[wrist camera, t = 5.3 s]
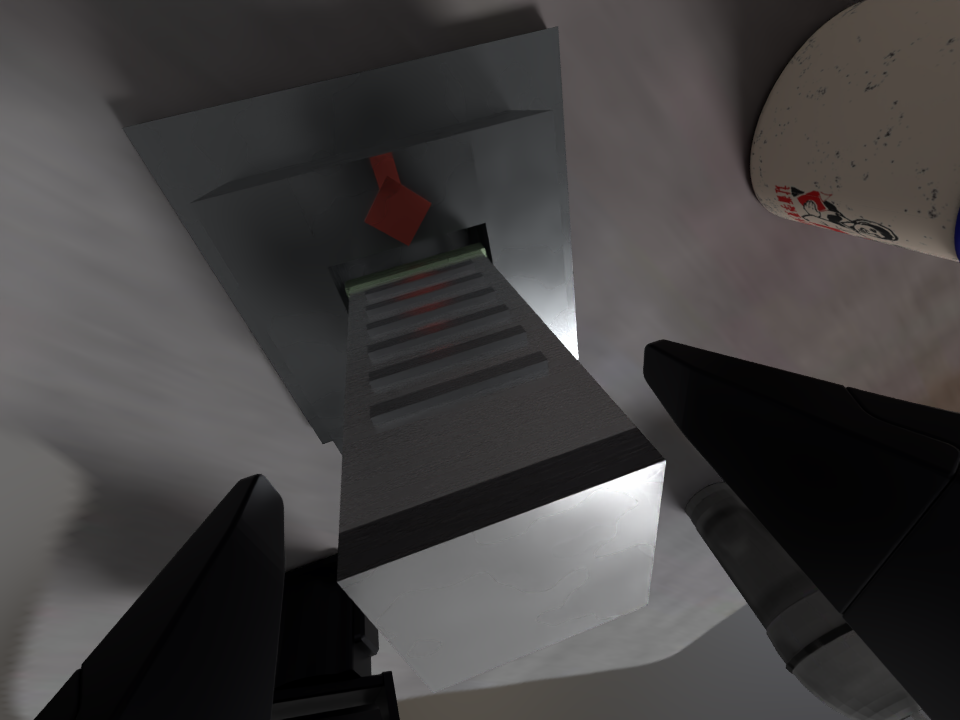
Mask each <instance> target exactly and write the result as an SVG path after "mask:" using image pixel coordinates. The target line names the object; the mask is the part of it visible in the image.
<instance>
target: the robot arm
mask: <svg viewBox="0 0 960 720" xmlns="http://www.w3.org/2000/svg"><path fill="white" fill-rule="evenodd" d="M643 374H644V378H645V380H646V382H647V383H648V385H649V386H650V388H651V389H652V390H653V392H654V393H655V395H656V396H657V398H658V399H659V401H660V402H661V403H662V405H663V406H664V408H665V409H666V411H667V412H668V413H669V415H670V416H671V418H672V419H673V421H674V422H675V423H676V425H677V426H678V428H679V429H680V430H681V431H682V433H683V434H684V435H685V436H686V438H687V439H688V440H689V441H690V442H691V443H692V444H693V446H694V447H695V448H696V449H697V450H698V451H699V453H700V454H701V455H702V456H703V457H704V458H705V459H706V461H707V462H708V463H709V464H710V465H711V466H712V467H713V469H714V470H715V471H716V472H717V473H718V474H719V476H720V477H721V478H722V479H723V480H724V481H725V482H726V484H727V485H728V486H729V487H730V488H731V489H732V491H733V492H734V493H735V494H736V495H737V496H738V497H739V499H740V500H741V501H742V502H743V503H744V504H745V505H746V507H747V508H748V509H749V510H750V511H751V512H752V514H753V515H754V516H755V517H756V518H757V519H758V520H759V522H760V523H761V524H762V525H763V526H764V527H765V529H766V530H767V531H768V532H769V533H770V534H771V535H772V537H773V538H774V539H775V540H776V541H777V542H778V543H779V545H780V546H781V547H782V548H783V549H784V550H785V552H786V553H787V554H788V555H789V556H790V557H791V558H792V560H793V561H794V562H795V563H796V564H797V565H798V567H799V568H800V569H801V570H802V571H803V572H804V573H805V575H806V576H807V577H808V578H809V579H810V580H811V581H812V583H813V584H814V585H815V586H816V587H817V588H818V590H819V591H820V592H821V593H822V594H823V595H824V596H825V598H826V599H827V600H828V601H829V602H830V603H831V605H832V606H833V607H834V608H835V609H836V610H837V611H838V613H840V614H842V618H843V619H844V620H845V621H846V622H847V623H848V625H849V626H850V627H851V628H852V629H853V630H854V631H855V633H856V634H857V635H858V636H859V637H860V638H861V640H862V641H863V642H864V643H865V644H866V645H867V646H868V648H869V649H870V650H871V651H872V652H873V653H874V654H875V656H876V657H877V658H878V659H879V660H880V661H881V663H882V664H883V665H884V666H885V667H886V668H887V669H888V671H889V672H890V673H891V674H892V675H893V676H894V677H895V679H896V680H897V681H898V682H899V683H900V684H901V686H902V687H903V688H904V689H905V690H906V691H907V692H908V694H909V695H910V696H911V697H912V698H913V699H914V700H915V702H916V703H917V704H918V705H919V706H920V707H921V709H922V710H923V711H924V712H925V713H926V714H927V715H928V716H929V718H930V719H931V720H960V413H958V412H953V411H949V410H944V409H940V408H935V407H930V406H926V405H921V404H917V403H912V402H908V401H904V400H899V399H895V398H891V397H887V396H883V395H879V394H875V393H871V392H867V391H863V390H859V389H855V388H852V387H846V388H845V387H844V386H843V385H840V384H836V383H832V382H828V381H824V380H820V379H816V378H812V377H808V376H804V375H801V374H797V373H793V372H789V371H785V370H781V369H777V368H773V367H769V366H766V365H762V364H758V363H754V362H750V361H746V360H742V359H738V358H734V357H730V356H727V355H723V354H719V353H715V352H711V351H707V350H703V349H699V348H695V347H691V346H688V345H684V344H680V343H676V342H672V341H668V340H658V341H655V342H652V343H649V344H648V345H646V347H645V350H644V366H643ZM337 566H338V555H335V556H332V557H329V558H326V559H324V560H321V561H318V562H315V563H313V564H310V565H307V566H304V567H302V568H299V569H296V570H293V571H291V572H288V573H285V549H284V505H283V500H282V498H281V496H280V494H279V493H278V492H277V491H276V490H275V488H274V487H273V486H272V485H271V483H270V482H269V481H268V480H267V479H266V477H265V476H263V475H262V474H256V475H253V476H250V477H247V478H244V479H241V480H240V481H238V482H237V483H236V485H235V486H234V487H233V488H232V489H231V490H230V492H229V493H228V494H227V495H226V496H225V497H224V499H223V500H222V501H221V502H220V503H219V504H218V506H217V507H216V508H215V509H214V510H213V512H212V513H211V514H210V515H209V516H208V517H207V519H206V520H205V521H204V522H203V523H202V524H201V526H200V527H199V528H198V529H197V530H196V531H195V533H194V534H193V535H192V536H191V537H190V538H189V540H188V541H187V542H186V543H185V544H184V545H183V547H182V548H181V549H180V550H179V551H178V552H177V554H176V555H175V556H174V557H173V558H172V559H171V561H170V562H169V563H168V564H167V565H166V566H165V568H164V569H163V570H162V571H161V572H160V573H159V575H158V576H157V577H156V578H155V579H154V580H153V582H152V583H151V584H150V585H149V586H148V587H147V589H146V590H145V591H144V592H143V593H142V594H141V596H140V597H139V598H138V599H137V600H136V601H135V603H134V604H133V605H132V606H131V607H130V608H129V610H128V611H127V612H126V613H125V614H124V615H123V617H122V618H121V619H120V620H119V621H118V622H117V624H116V625H115V626H114V627H113V628H112V629H111V631H110V632H109V633H108V634H107V635H106V636H105V638H104V639H103V640H102V641H101V642H100V643H99V645H98V646H97V647H96V648H95V649H94V650H93V652H92V653H91V654H90V655H89V656H88V657H87V659H86V660H85V661H84V662H83V663H82V666H81V669H78V670H76V671H75V672H74V674H73V675H72V676H71V677H70V678H69V680H68V681H67V682H66V683H65V684H64V685H63V687H62V688H61V689H60V690H59V691H58V692H57V694H56V695H55V696H54V697H53V698H52V699H51V701H50V702H49V703H48V704H47V705H46V706H45V707H44V709H43V710H42V711H41V712H40V713H39V714H38V715H37V717H36V718H35V719H34V720H400V718H399V713H398V706H397V700H396V694H395V688H394V682H393V676H392V671H386V672H382V674H378V675H372V676H371V656H374V655H376V654H377V652H378V650H379V641H378V629H377V628H376V627H375V626H374V624H373V623H372V622H371V621H370V620H369V619H368V618H367V616H366V615H365V614H364V613H363V612H362V611H361V609H360V608H359V607H358V606H357V605H356V604H355V603H354V601H353V600H352V599H351V598H350V597H349V596H348V594H347V593H346V592H345V591H344V590H343V589H342V588H341V586H340V585H339V584H338V583H337Z"/></svg>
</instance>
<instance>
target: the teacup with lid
mask: <svg viewBox="0 0 960 720" xmlns="http://www.w3.org/2000/svg"><path fill="white" fill-rule="evenodd" d="M750 173H751V181H752V185H753V189H754V192H755V194H756V196H757V198H758V200H759V201H760V203H761V204H762V205H763V206H764V207H765V208H766V209H767V210H768V211H769V212H771V213H773V214H774V215H777V216H779V217H782V218H786V219H790V220H794V221H798V222H802V223H806V224H810V225H814V226H818V227H822V228H826V229H830V230H834V231H838V232H842V233H846V234H850V235H854V236H858V237H862V238H866V239H870V240H874V241H878V242H882V243H886V244H890V245H894V246H898V247H902V248H906V249H910V250H914V251H918V252H922V253H926V254H930V255H934V256H938V257H942V258H946V259H950V260H954V261H957V262H960V0H864V1H862V2H859V3H856V4H854V5H852V6H851V7H849V8H847V9H845V10H844V11H842V12H840V13H839V14H837V15H836V16H834V17H833V18H832V19H830V20H829V21H828V22H826V23H825V24H824V25H823V26H822V27H821V28H819V29H818V30H817V31H816V32H815V33H814V34H813V35H812V36H811V37H810V38H809V39H808V40H807V41H806V42H805V43H804V45H803V46H802V47H801V48H800V49H799V50H798V51H797V53H796V54H795V55H794V56H793V58H792V59H791V60H790V62H789V63H788V64H787V66H786V67H785V69H784V70H783V72H782V73H781V75H780V76H779V78H778V80H777V81H776V83H775V85H774V87H773V89H772V90H771V92H770V94H769V96H768V98H767V101H766V103H765V105H764V107H763V110H762V112H761V115H760V117H759V120H758V123H757V126H756V130H755V134H754V138H753V143H752V148H751V157H750Z"/></svg>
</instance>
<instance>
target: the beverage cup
mask: <svg viewBox="0 0 960 720" xmlns="http://www.w3.org/2000/svg"><path fill="white" fill-rule="evenodd" d="M686 514H687V515H688V516H689V517H690V519H691V521H692V522H693V524H694V525H695V527H696V529H697V531H698V532H699V534H700V535H701V537H702V538H703V540H704V541H705V543H706V544H707V545H708V547H709V548H710V550H711V551H712V553H713V554H714V556H715V557H716V558H717V560H718V561H719V563H720V564H721V566H722V567H723V569H724V570H725V571H726V573H727V574H728V576H729V577H730V579H731V580H732V582H733V583H734V584H735V586H736V587H737V589H738V590H739V592H740V593H741V595H742V596H743V597H744V599H745V600H746V602H747V603H748V605H749V606H750V607H751V609H752V610H753V612H754V613H755V615H756V616H757V618H758V619H759V620H760V622H761V623H762V625H763V626H764V628H765V629H766V631H767V635H768V637H769V639H770V640H771V642H772V644H773V646H774V647H775V649H776V651H777V652H778V654H779V655H780V657H781V658H782V659H783V660H784V662H785V663H786V669H787V670H788V671H789V672H791V673H792V674H794V675H795V676H796V677H797V679H798V680H799V681H800V682H801V683H802V684H803V685H804V686H805V687H806V688H807V689H808V690H809V691H810V692H811V693H812V694H813V695H814V696H815V697H817V698H818V699H819V700H821V701H822V702H823V703H824V704H826V705H827V706H829V707H830V708H832V709H834V710H835V711H837V712H839V713H840V714H843V715H844V716H846V717H848V718H851V719H853V720H904V719H905V718H907V717H909V716H911V717H912V718H913V719H915V720H927V719H926V718H925V717H924V716H923V715H922V714H921V713H920V712H919V711H920V710H922V709H921V707H920V706H919V705H918V704H917V703H916V702H915V700H914V699H913V698H912V697H911V696H910V695H909V694H908V692H907V691H906V690H905V689H904V688H903V687H902V686H901V684H900V683H899V682H898V681H897V680H896V679H895V677H894V676H893V675H892V674H891V673H890V672H889V671H888V669H887V668H886V667H885V666H884V665H883V664H882V663H881V661H880V660H879V659H878V658H877V657H876V656H875V654H874V653H873V652H872V651H871V650H870V649H869V648H868V646H867V645H866V644H865V643H864V642H863V641H862V640H861V638H860V637H859V636H858V635H857V634H856V633H855V631H854V630H853V629H852V628H851V627H850V626H849V625H848V623H847V622H846V621H845V620H844V619H843V618H842V614H840V613H838V611H837V610H836V609H835V608H834V607H833V606H832V605H831V603H830V602H829V601H828V600H827V599H826V598H825V596H824V595H823V594H822V593H821V592H820V591H819V590H818V588H817V587H816V586H815V585H814V584H813V583H812V581H811V580H810V579H809V578H808V577H807V576H806V575H805V573H804V572H803V571H802V570H801V569H800V568H799V567H798V565H797V564H796V563H795V562H794V561H793V560H792V558H791V557H790V556H789V555H788V554H787V553H786V552H785V550H784V549H783V548H782V547H781V546H780V545H779V543H778V542H777V541H776V540H775V539H774V538H773V537H772V535H771V534H770V533H769V532H768V531H767V530H766V529H765V527H764V526H763V525H762V524H761V523H760V522H759V520H758V519H757V518H756V517H755V516H754V515H753V514H752V512H751V511H750V510H749V509H748V508H747V507H746V505H745V504H744V503H743V502H742V501H741V500H740V499H739V497H738V496H737V495H736V494H735V493H734V492H733V491H732V489H731V488H730V487H729V486H728V485H727V484H726V483H716V484H713V485H710V486H708V487H706V488H704V489H702V490H701V491H700V492H698V493H697V494H696V495H695V496H694V497H693V498H692V499H691V500H690V501H689V503H688V504H687V506H686Z"/></svg>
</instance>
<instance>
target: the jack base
mask: <svg viewBox="0 0 960 720" xmlns="http://www.w3.org/2000/svg"><path fill="white" fill-rule="evenodd" d="M123 130H124V132H125V133H126V135H127V136H128V138H129V139H130V141H131V143H132V144H133V146H134V147H135V149H136V150H137V152H138V154H139V155H140V157H141V158H142V160H143V161H144V163H145V165H146V166H147V168H148V169H149V171H150V172H151V174H152V176H153V177H154V179H155V180H156V182H157V184H158V185H159V187H160V188H161V190H162V191H163V193H164V195H165V196H166V198H167V199H168V201H169V202H170V204H171V206H172V207H173V209H174V210H175V212H176V213H177V215H178V217H179V218H180V220H181V221H182V223H183V225H184V226H185V228H186V229H187V231H188V232H189V234H190V236H191V237H192V239H193V240H194V242H195V243H196V245H197V247H198V248H199V250H200V251H201V253H202V254H203V256H204V258H205V259H206V261H207V262H208V264H209V265H210V267H211V269H212V270H213V272H214V273H215V275H216V277H217V278H218V280H219V281H220V283H221V284H222V286H223V288H224V289H225V291H226V292H227V294H228V295H229V297H230V299H231V300H232V302H233V303H234V305H235V306H236V308H237V310H238V311H239V313H240V314H241V316H242V318H243V319H244V321H245V322H246V324H247V325H248V327H249V329H250V330H251V332H252V333H253V335H254V336H255V338H256V340H257V341H258V343H259V344H260V346H261V347H262V349H263V351H264V352H265V354H266V355H267V357H268V358H269V360H270V362H271V363H272V365H273V366H274V368H275V370H276V371H277V373H278V374H279V376H280V377H281V379H282V381H283V382H284V384H285V385H286V387H287V388H288V390H289V392H290V393H291V395H292V396H293V398H294V399H295V401H296V403H297V404H298V406H299V407H300V409H301V411H302V412H303V414H304V415H305V417H306V418H307V420H308V422H309V423H310V425H311V426H312V428H313V429H314V431H315V433H316V434H317V436H318V437H319V439H320V440H321V442H322V444H325V443H328V442H331V441H334V443H335V445H336V446H337V448H338V450H339V451H340V453H341V454H342V452H343V429H344V406H345V383H346V361H347V338H348V315H349V297H348V295H347V293H346V291H345V281H348V280H351V279H355V278H358V277H362V276H365V275H369V274H372V273H376V272H379V271H383V270H386V269H389V268H393V267H396V266H400V265H403V264H407V263H410V262H414V261H417V260H421V259H424V258H428V257H431V256H434V255H438V254H441V253H445V252H448V251H452V250H455V249H459V248H462V247H466V246H469V245H473V244H476V243H479V242H480V243H481V245H482V246H483V247H484V248H485V252H486V257H487V258H488V259H489V260H490V262H491V263H492V264H493V265H494V266H495V267H496V268H497V270H498V271H499V272H500V273H501V274H502V275H503V276H504V277H505V279H506V280H507V281H508V282H509V283H510V284H511V285H512V287H513V288H514V289H515V290H516V291H517V292H518V293H519V294H520V296H521V297H522V298H523V299H524V300H525V301H526V302H527V304H528V305H529V306H530V307H531V308H532V309H533V310H534V311H535V313H536V314H537V315H538V316H539V317H540V318H541V319H542V321H543V322H544V323H545V324H546V325H547V326H548V327H549V328H550V330H551V331H552V332H553V333H554V334H555V335H556V336H557V338H558V339H559V340H560V341H561V342H562V343H563V344H564V345H565V347H566V348H567V349H568V350H569V351H570V352H571V353H572V355H573V356H574V357H575V358H576V359H577V360H578V347H577V330H576V314H575V297H574V281H573V264H572V248H571V231H570V215H569V198H568V182H567V166H566V149H565V133H564V116H563V100H562V83H561V67H560V50H559V34H558V26H557V27H553V28H549V29H544V30H540V31H536V32H531V33H527V34H523V35H519V36H514V37H510V38H506V39H501V40H497V41H493V42H488V43H484V44H480V45H476V46H471V47H467V48H463V49H458V50H454V51H450V52H446V53H441V54H437V55H433V56H428V57H424V58H420V59H416V60H411V61H407V62H403V63H398V64H394V65H390V66H386V67H381V68H377V69H373V70H368V71H364V72H360V73H355V74H351V75H347V76H343V77H338V78H334V79H330V80H325V81H321V82H317V83H313V84H308V85H304V86H300V87H295V88H291V89H287V90H283V91H278V92H274V93H270V94H265V95H261V96H257V97H253V98H248V99H244V100H240V101H235V102H231V103H227V104H222V105H218V106H214V107H210V108H205V109H201V110H197V111H192V112H188V113H184V114H180V115H175V116H171V117H167V118H162V119H158V120H154V121H150V122H145V123H141V124H137V125H132V126H128V127H124V128H123Z"/></svg>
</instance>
